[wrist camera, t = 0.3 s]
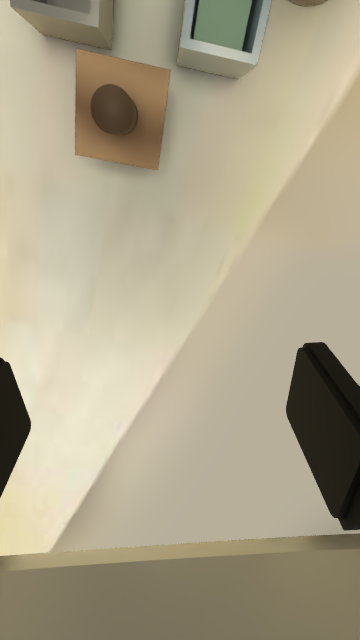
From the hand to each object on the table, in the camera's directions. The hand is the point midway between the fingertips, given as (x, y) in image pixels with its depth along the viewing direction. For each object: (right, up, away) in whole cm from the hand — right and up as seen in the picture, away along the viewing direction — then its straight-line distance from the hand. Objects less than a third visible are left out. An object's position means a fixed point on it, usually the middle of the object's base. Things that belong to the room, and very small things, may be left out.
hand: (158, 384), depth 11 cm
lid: (-4, +19, +16) cm, 25 cm away
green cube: (+4, +28, +18) cm, 33 cm away
